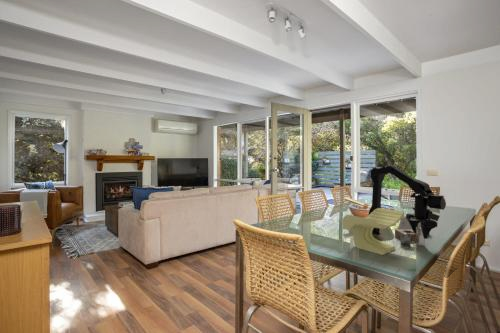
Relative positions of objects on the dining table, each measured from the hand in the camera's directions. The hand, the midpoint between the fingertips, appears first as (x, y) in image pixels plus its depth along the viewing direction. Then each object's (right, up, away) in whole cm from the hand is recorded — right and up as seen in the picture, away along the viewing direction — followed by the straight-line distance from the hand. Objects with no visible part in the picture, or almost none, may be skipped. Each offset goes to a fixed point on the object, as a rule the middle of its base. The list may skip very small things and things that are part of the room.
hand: (420, 236), depth 140 cm
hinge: (+12, -4, +25) cm, 27 cm away
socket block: (0, -4, +10) cm, 11 cm away
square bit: (0, -5, 0) cm, 5 cm away
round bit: (-8, -5, 0) cm, 9 cm away
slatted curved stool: (-27, -5, -4) cm, 27 cm away
